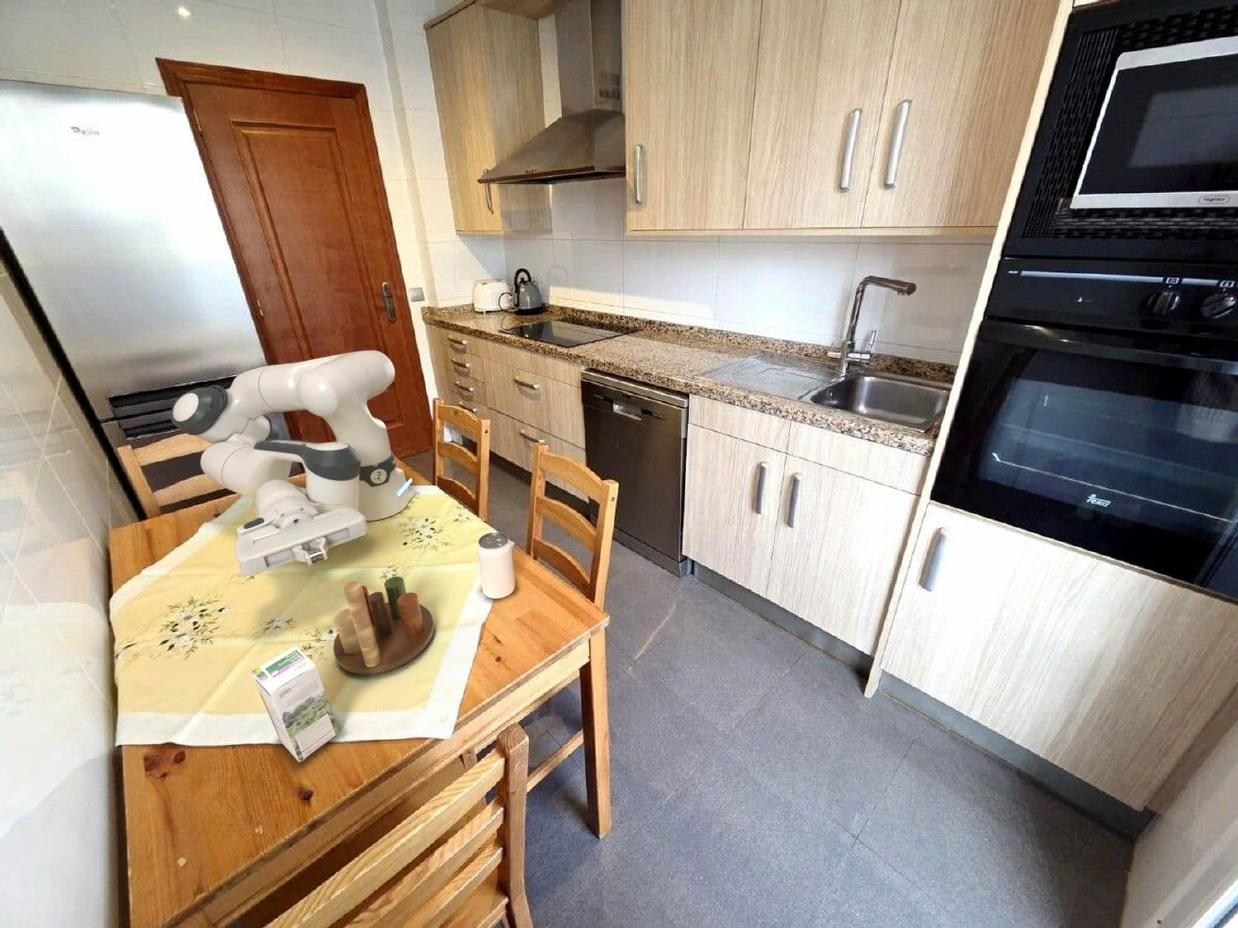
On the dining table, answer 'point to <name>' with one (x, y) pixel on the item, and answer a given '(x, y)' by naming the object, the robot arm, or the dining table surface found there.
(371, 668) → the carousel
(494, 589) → the can
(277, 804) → the dining table surface
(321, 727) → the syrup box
